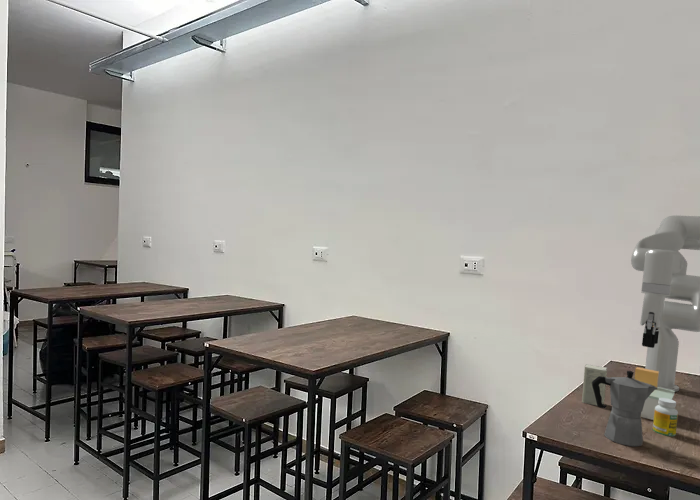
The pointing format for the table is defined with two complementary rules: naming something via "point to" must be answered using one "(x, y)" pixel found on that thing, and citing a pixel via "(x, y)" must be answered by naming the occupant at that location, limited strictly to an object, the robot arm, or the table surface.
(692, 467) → the table surface
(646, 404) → the tub
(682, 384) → the table surface
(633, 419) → the coffeepot
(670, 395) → the lid
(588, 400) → the skincare box
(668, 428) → the supplement bottle
